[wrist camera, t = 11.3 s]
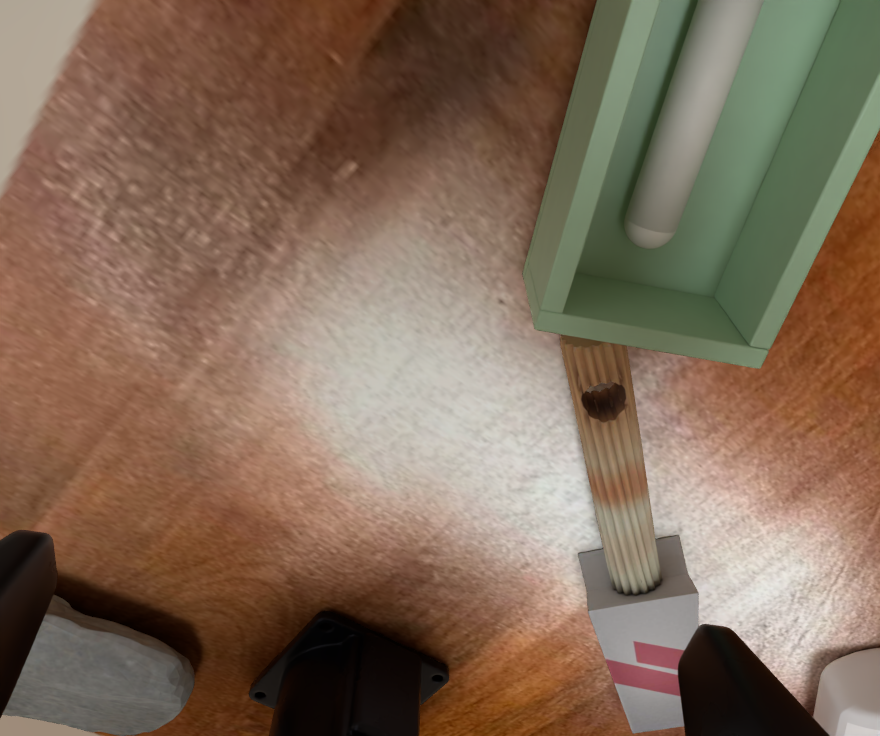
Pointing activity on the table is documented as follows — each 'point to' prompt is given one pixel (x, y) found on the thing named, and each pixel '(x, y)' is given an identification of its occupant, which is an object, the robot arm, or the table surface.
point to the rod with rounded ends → (689, 117)
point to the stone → (99, 676)
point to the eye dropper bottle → (850, 695)
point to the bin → (704, 179)
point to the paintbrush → (629, 545)
